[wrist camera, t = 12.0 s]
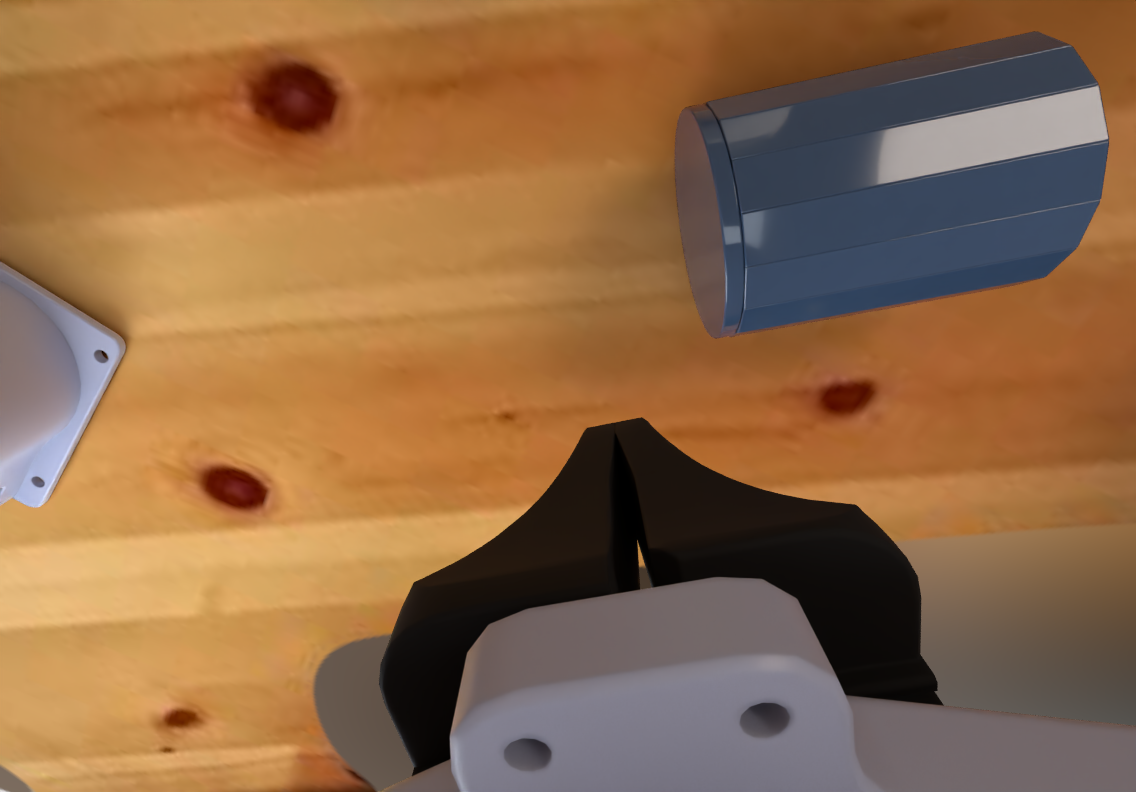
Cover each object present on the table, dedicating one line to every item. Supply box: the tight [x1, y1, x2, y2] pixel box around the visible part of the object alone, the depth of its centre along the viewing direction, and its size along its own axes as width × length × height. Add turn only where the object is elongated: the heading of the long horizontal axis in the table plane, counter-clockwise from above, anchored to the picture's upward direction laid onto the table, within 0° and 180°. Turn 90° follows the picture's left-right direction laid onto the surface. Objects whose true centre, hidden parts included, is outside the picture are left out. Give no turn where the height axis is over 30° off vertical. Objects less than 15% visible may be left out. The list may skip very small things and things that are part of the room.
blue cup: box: [675, 31, 1109, 339], centre depth 17 cm, size 7×7×9 cm
